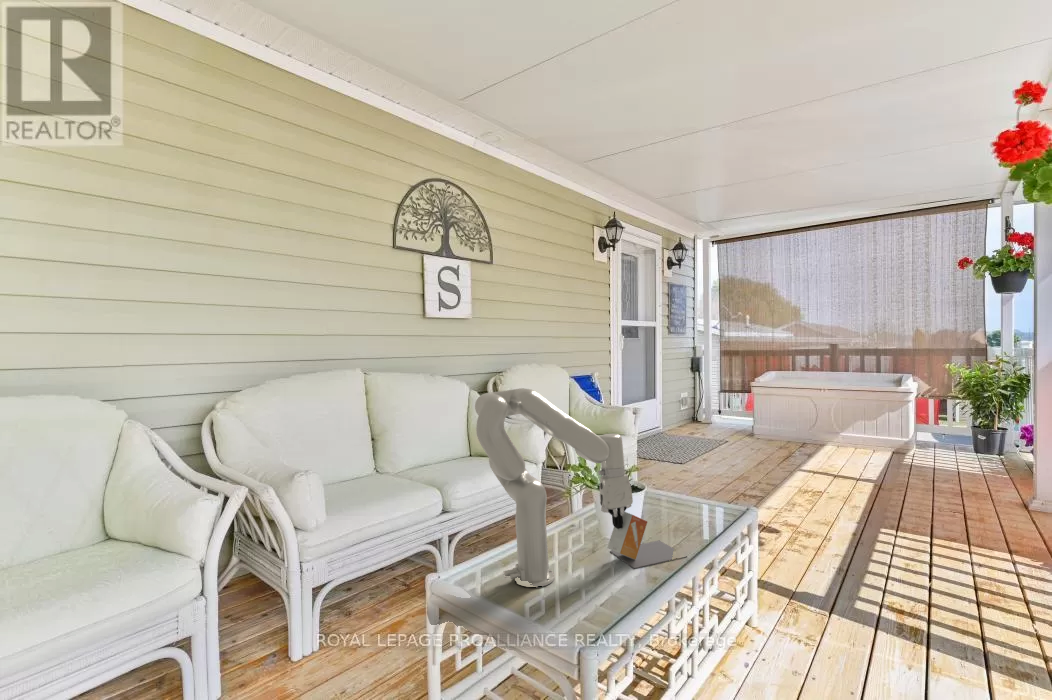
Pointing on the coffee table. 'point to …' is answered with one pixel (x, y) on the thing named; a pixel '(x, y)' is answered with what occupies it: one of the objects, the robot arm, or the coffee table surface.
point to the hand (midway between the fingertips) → (618, 527)
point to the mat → (648, 554)
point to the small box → (628, 536)
